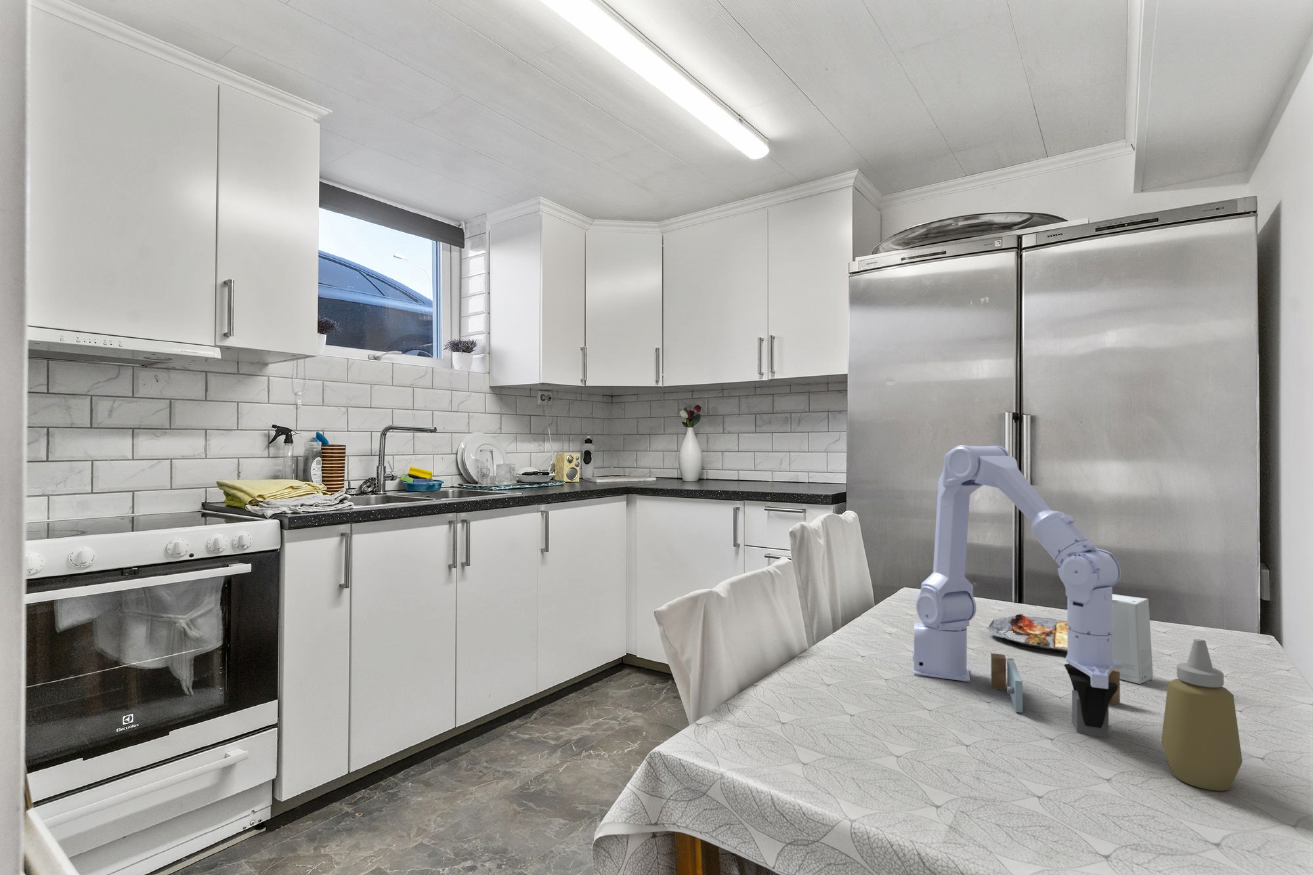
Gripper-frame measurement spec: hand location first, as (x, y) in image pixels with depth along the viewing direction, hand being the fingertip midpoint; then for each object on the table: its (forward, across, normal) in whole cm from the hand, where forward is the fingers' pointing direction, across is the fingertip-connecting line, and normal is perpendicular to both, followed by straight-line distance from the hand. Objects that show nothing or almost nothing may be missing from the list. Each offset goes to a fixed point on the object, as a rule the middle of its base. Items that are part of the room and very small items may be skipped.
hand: (1089, 720), depth 99 cm
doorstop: (+1, 0, 0) cm, 1 cm away
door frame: (+1, +14, +4) cm, 15 cm away
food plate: (+2, +51, -1) cm, 51 cm away
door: (+1, +8, +10) cm, 13 cm away
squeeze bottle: (+2, -12, -10) cm, 16 cm away
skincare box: (+2, +30, -10) cm, 32 cm away
